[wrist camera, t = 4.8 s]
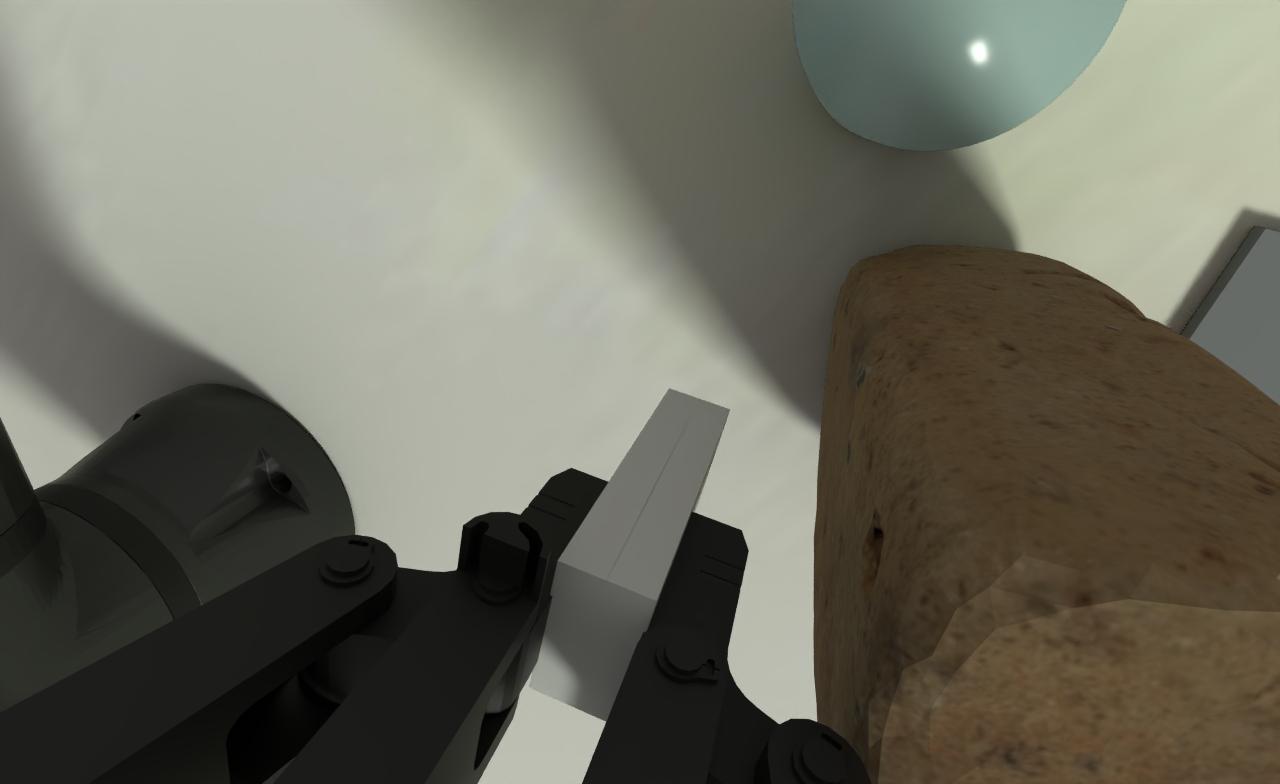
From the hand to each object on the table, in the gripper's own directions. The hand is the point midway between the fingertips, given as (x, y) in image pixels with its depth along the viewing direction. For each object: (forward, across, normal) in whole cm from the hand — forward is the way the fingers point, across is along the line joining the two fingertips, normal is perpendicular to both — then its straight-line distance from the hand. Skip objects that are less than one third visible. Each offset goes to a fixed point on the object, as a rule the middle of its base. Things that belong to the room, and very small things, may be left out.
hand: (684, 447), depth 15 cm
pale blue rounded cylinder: (+13, +2, +11) cm, 17 cm away
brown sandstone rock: (+13, +7, 0) cm, 15 cm away
